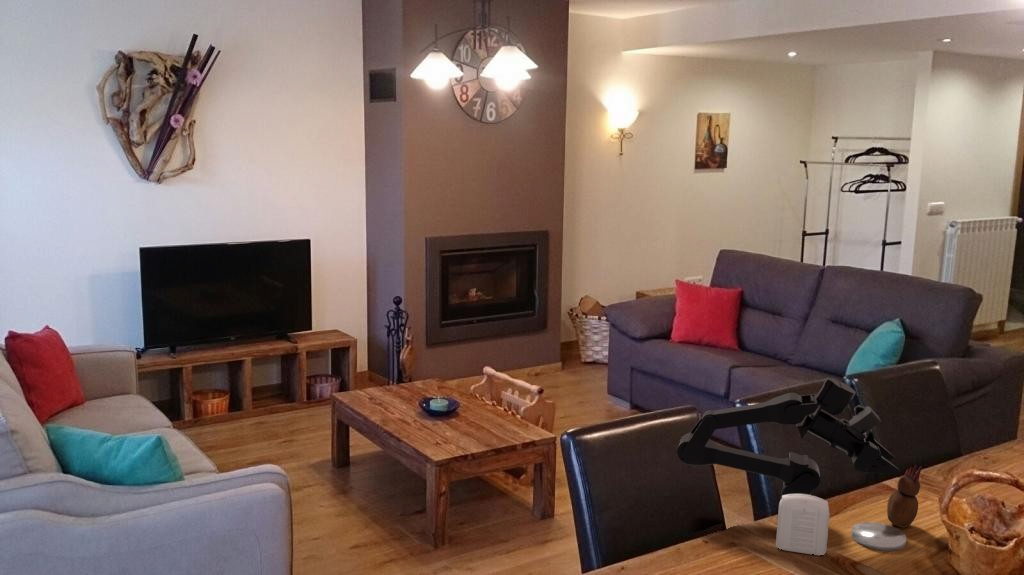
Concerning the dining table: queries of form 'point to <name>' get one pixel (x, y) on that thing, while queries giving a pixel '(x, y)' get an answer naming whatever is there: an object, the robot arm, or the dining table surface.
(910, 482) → the wooden figurine
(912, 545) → the dining table surface
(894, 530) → the plate
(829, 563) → the dining table surface
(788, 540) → the white upright block
